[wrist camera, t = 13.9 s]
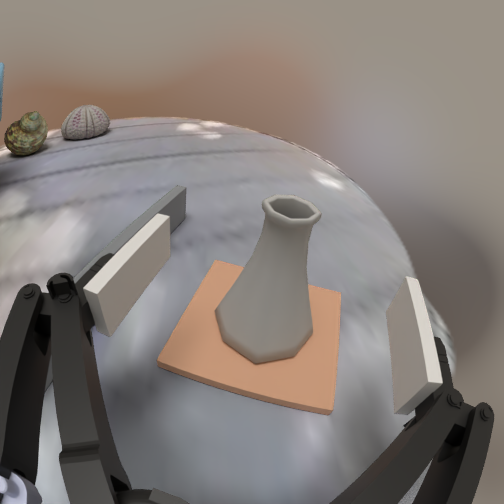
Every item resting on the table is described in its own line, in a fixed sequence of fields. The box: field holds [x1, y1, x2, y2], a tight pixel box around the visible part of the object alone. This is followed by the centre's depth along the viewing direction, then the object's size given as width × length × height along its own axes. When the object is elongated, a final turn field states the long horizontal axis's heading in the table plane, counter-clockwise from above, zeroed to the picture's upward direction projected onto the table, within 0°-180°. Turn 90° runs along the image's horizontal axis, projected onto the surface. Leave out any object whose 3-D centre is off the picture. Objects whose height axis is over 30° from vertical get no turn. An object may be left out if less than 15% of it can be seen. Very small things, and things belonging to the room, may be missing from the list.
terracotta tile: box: [157, 260, 341, 415], centre depth 22 cm, size 12×12×1 cm
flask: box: [215, 195, 322, 364], centre depth 19 cm, size 7×7×10 cm
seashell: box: [4, 111, 47, 155], centre depth 48 cm, size 11×11×10 cm
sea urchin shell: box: [61, 105, 110, 140], centre depth 60 cm, size 13×14×8 cm
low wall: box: [45, 185, 186, 391], centre depth 23 cm, size 26×1×4 cm, turn 165°
